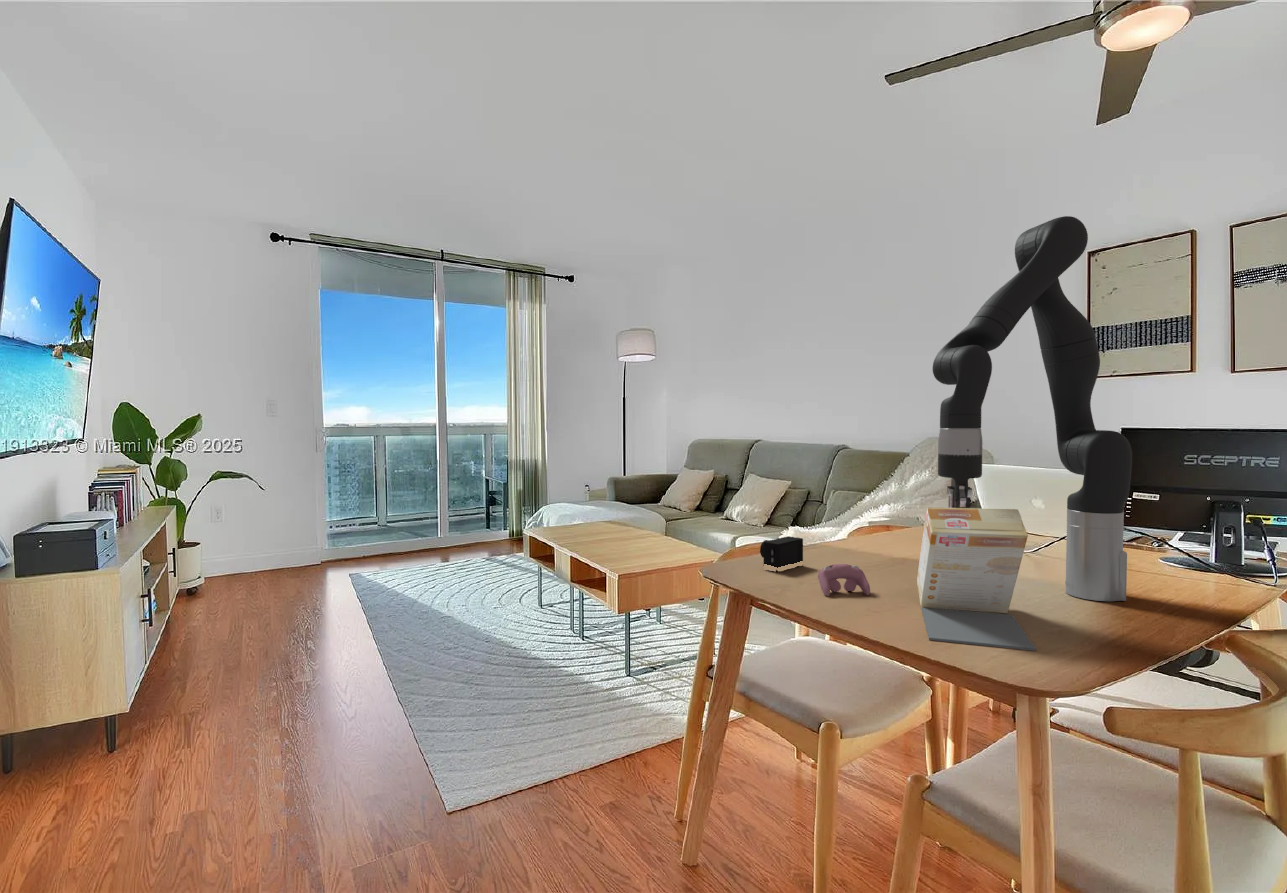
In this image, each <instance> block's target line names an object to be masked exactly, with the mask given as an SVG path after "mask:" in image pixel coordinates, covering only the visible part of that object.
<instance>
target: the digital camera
mask: <svg viewBox="0 0 1287 893" xmlns="http://www.w3.org/2000/svg"><path fill="white" fill-rule="evenodd" d="M759 547H760V548H759V553H760V556H761V558H763V565H764V564H767V565H771V566H774V567H777V568H778V567H781V566H785V565H788V564H794V563H797V562H800V561H803V562H804V538H802V537H796V536H788V535H787V536H784V537H780V538H774V539H770V540H768V539H764V540H763V541H762V542H761V544H760V546H759Z"/></svg>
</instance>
